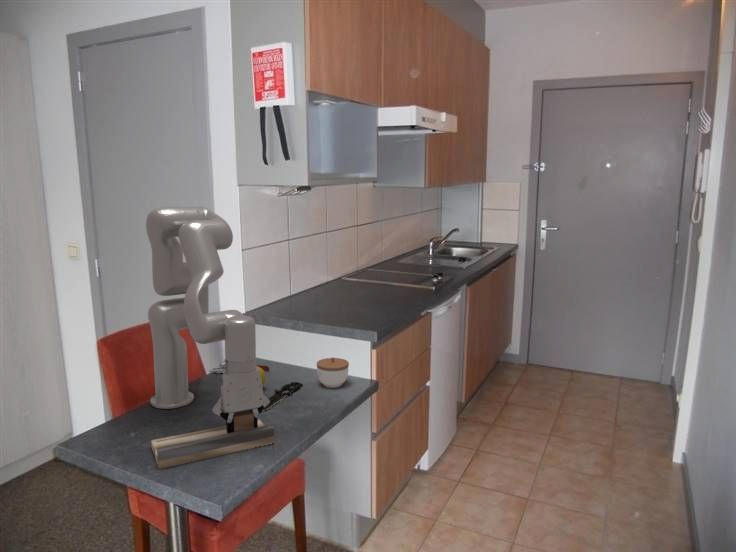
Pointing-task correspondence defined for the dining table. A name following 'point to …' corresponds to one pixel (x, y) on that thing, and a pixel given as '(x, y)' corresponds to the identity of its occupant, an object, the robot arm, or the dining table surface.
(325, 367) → the lidded jar
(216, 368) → the pliers
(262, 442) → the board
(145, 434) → the dining table surface
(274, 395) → the knife
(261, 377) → the lemon
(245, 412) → the brown block with peg
